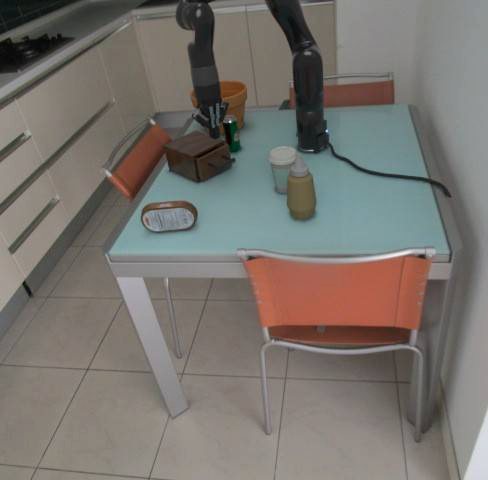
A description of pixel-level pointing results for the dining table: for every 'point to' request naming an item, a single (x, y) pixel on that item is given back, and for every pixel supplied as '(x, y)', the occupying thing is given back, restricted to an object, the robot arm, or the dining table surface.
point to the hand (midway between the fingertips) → (215, 138)
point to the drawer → (213, 161)
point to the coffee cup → (281, 165)
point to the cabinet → (189, 153)
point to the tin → (169, 216)
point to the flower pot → (230, 100)
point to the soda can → (231, 133)
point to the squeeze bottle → (300, 190)
